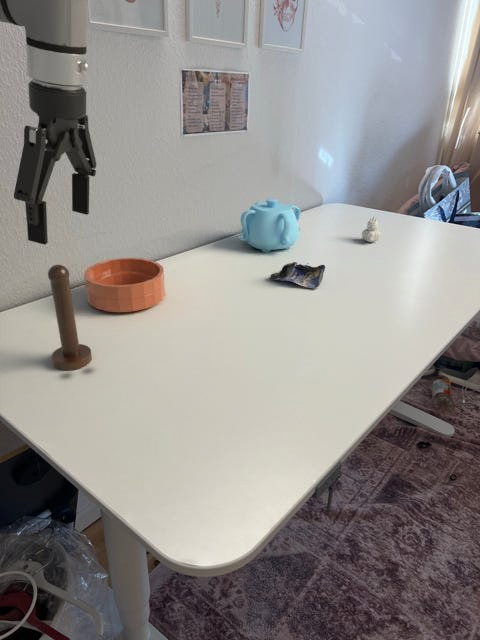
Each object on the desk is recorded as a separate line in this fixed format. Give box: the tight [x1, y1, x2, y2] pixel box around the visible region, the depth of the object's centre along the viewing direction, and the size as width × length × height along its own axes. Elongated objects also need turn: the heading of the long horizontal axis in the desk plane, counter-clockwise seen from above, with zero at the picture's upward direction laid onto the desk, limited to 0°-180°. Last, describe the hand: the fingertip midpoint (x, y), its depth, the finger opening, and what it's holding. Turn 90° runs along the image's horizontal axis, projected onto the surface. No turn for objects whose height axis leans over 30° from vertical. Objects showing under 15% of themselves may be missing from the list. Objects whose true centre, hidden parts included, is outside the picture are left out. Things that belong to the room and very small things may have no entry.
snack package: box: [270, 261, 326, 290], centre depth 116 cm, size 12×6×12 cm
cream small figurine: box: [361, 215, 381, 243], centre depth 143 cm, size 5×7×8 cm
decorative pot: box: [238, 198, 301, 253], centre depth 137 cm, size 16×16×14 cm
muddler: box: [47, 264, 93, 372], centre depth 79 cm, size 6×6×18 cm
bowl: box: [83, 257, 166, 313], centre depth 104 cm, size 17×17×6 cm
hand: (60, 226), depth 77 cm, fingers open, 13 cm apart
